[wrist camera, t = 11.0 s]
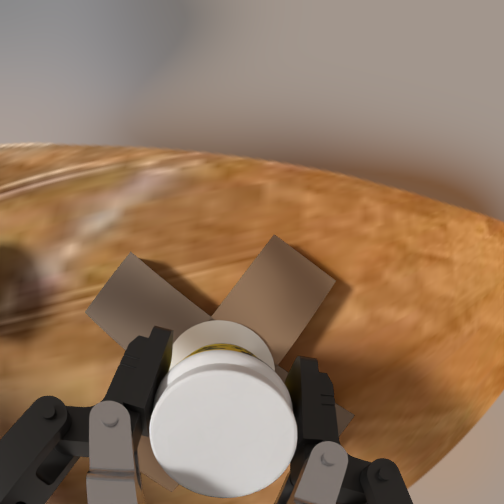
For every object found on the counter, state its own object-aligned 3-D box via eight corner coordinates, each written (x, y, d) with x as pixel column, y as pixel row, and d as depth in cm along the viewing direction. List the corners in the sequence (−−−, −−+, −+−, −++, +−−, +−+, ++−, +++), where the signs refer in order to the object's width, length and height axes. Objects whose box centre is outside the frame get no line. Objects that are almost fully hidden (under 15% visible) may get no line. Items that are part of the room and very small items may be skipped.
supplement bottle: (280, 358, 16) (339, 384, 8) (251, 437, 14) (279, 522, 6) (192, 329, 16) (164, 328, 8) (165, 409, 14) (118, 477, 6)
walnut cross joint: (249, 519, 17) (251, 533, 15) (50, 379, 18) (37, 382, 16) (391, 334, 21) (406, 334, 19) (196, 188, 22) (195, 175, 20)
